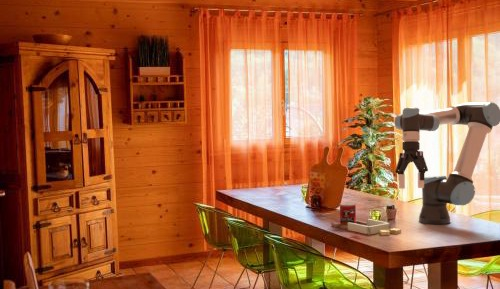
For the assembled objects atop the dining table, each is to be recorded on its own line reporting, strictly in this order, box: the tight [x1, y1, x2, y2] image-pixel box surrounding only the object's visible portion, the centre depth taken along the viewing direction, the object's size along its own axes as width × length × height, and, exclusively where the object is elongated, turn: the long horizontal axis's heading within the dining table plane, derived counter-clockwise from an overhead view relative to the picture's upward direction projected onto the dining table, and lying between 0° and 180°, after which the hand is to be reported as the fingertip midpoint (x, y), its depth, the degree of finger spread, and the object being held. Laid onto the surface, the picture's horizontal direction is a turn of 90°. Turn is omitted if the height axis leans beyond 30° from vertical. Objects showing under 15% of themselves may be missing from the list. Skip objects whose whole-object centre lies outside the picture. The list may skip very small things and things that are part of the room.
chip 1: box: [379, 230, 391, 236], centre depth 279 cm, size 4×4×2 cm
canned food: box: [339, 201, 357, 226], centre depth 300 cm, size 8×8×11 cm
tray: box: [347, 218, 392, 235], centre depth 288 cm, size 14×14×4 cm
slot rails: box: [330, 219, 367, 231], centre depth 300 cm, size 12×14×2 cm
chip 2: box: [389, 227, 402, 235], centre depth 281 cm, size 4×4×2 cm
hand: (411, 188), depth 273 cm, fingers open, 13 cm apart
